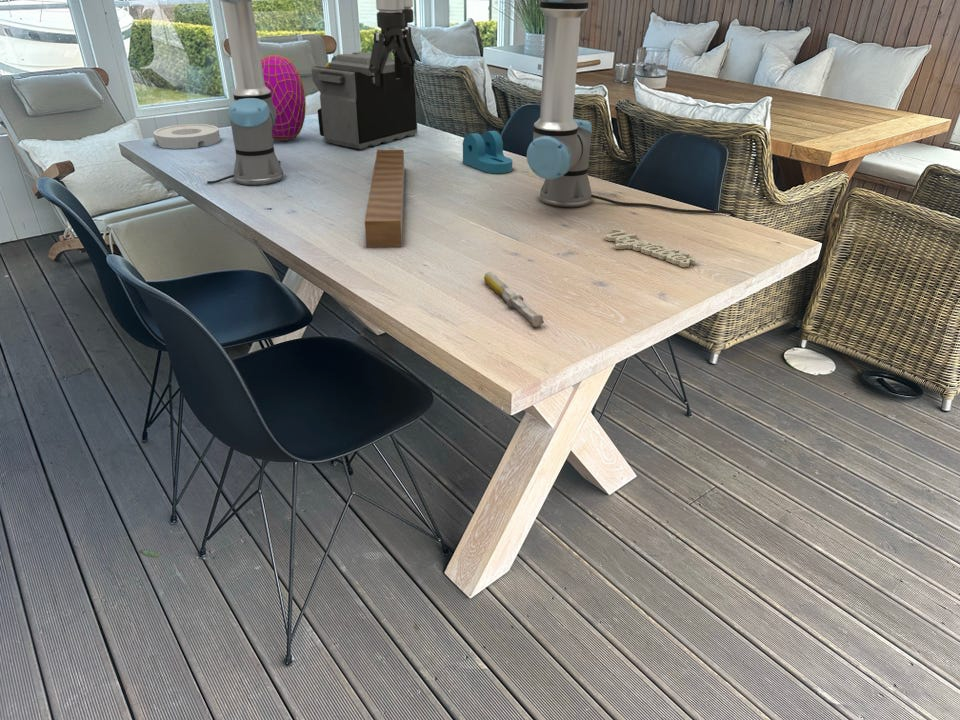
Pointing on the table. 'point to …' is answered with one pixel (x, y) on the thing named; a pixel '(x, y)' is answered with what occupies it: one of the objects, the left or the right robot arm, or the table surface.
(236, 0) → the left robot arm
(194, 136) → the beige round base
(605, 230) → the table surface
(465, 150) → the camera mount
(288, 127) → the decorative egg
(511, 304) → the syringe
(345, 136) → the cooler box
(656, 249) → the decorative sign
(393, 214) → the wide beam
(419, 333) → the table surface
